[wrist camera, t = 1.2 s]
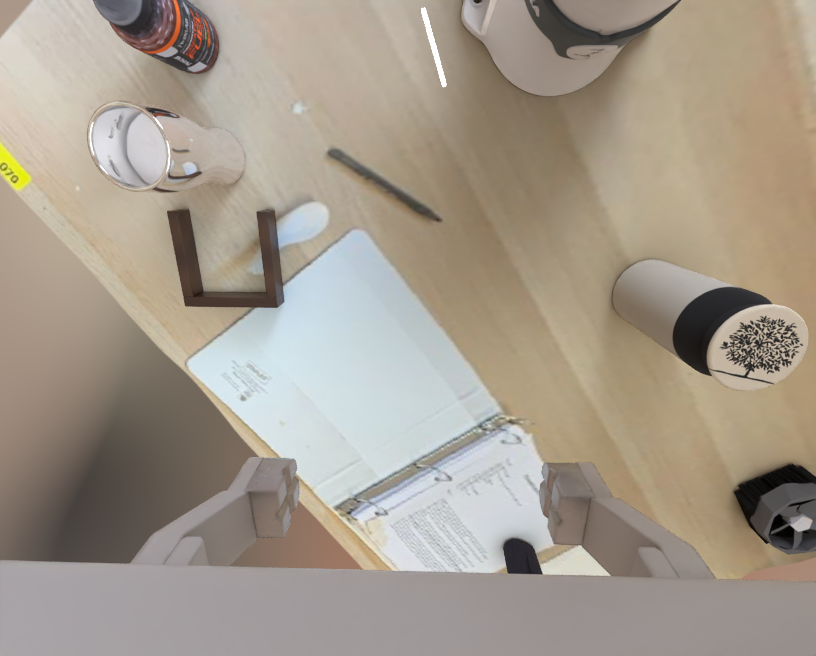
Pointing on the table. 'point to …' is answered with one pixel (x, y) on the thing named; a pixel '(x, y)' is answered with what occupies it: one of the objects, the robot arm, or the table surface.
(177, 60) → the supplement bottle
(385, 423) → the table surface
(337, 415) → the table surface
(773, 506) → the cpu cooler
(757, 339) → the travel mug
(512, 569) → the two-way radio
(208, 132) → the beer glass
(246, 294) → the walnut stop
